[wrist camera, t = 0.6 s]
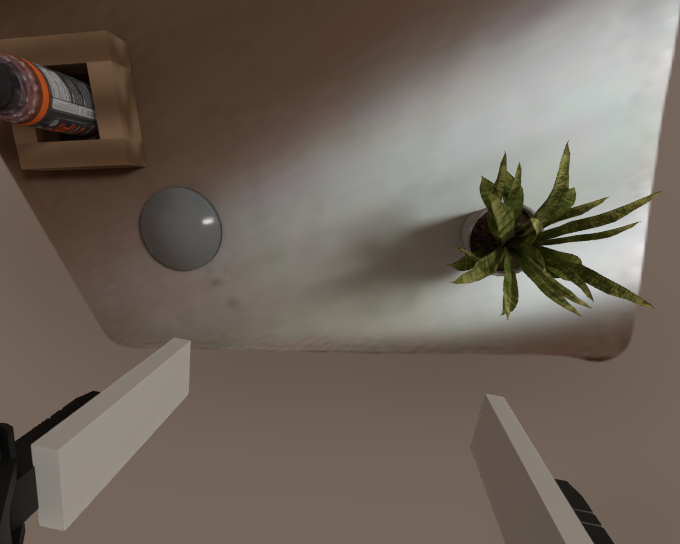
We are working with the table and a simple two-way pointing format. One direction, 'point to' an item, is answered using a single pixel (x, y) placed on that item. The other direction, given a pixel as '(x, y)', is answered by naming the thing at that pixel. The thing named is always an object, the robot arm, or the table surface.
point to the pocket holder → (108, 96)
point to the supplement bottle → (45, 98)
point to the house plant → (536, 240)
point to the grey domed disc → (181, 228)
